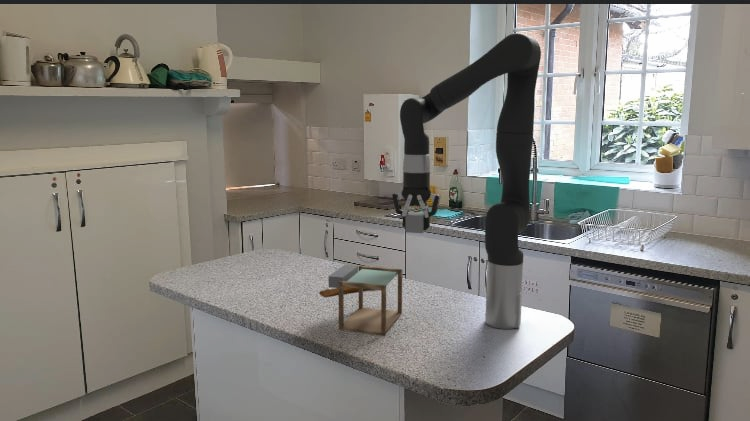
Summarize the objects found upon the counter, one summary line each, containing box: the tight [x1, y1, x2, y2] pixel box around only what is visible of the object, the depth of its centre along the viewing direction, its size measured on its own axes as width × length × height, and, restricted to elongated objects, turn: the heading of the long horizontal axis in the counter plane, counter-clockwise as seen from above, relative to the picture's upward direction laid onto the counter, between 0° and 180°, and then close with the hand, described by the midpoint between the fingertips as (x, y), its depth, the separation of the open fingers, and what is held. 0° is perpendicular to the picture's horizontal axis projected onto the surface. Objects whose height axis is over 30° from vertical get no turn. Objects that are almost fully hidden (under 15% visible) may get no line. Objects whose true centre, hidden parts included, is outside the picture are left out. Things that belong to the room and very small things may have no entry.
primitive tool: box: [318, 287, 369, 298], centre depth 184 cm, size 19×6×4 cm, turn 116°
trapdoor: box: [328, 264, 398, 289], centre depth 156 cm, size 15×14×3 cm
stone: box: [404, 211, 427, 234], centre depth 166 cm, size 5×5×5 cm
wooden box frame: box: [338, 265, 403, 336], centre depth 156 cm, size 13×17×13 cm
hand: (416, 229), depth 166 cm, fingers closed on stone, 5 cm apart
